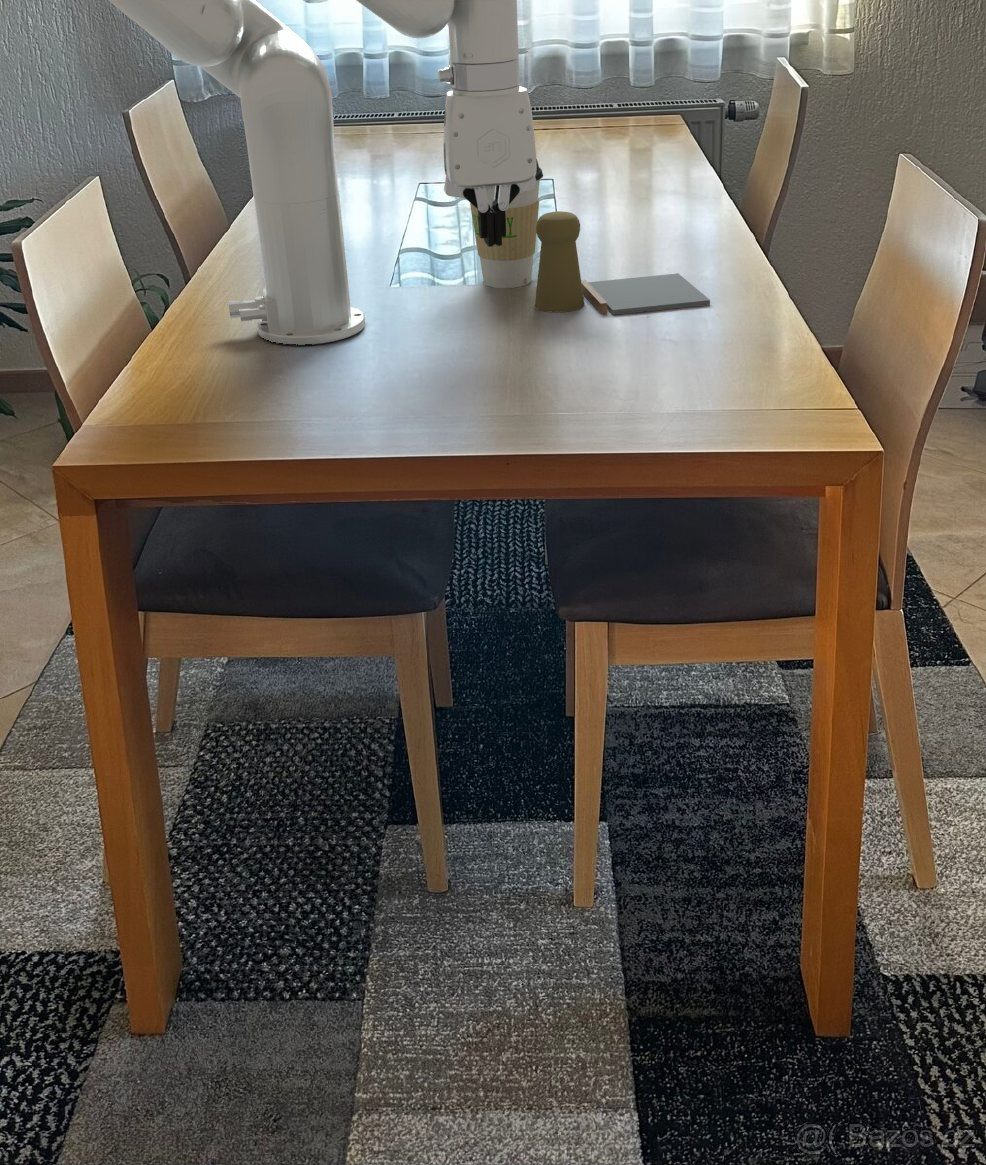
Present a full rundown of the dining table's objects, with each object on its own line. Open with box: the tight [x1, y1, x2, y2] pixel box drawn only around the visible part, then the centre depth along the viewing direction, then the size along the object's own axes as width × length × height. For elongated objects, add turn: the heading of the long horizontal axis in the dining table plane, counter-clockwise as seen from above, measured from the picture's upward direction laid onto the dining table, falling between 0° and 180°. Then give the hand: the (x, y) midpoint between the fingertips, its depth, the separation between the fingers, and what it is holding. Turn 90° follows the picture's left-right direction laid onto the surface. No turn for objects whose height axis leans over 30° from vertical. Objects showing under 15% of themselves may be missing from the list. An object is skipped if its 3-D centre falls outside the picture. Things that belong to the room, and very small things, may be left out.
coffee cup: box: [469, 158, 544, 289], centre depth 162 cm, size 10×10×15 cm
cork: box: [534, 210, 585, 313], centre depth 154 cm, size 6×6×11 cm
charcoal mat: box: [587, 272, 711, 316], centre depth 158 cm, size 12×12×1 cm
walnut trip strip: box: [581, 279, 608, 314], centre depth 157 cm, size 1×10×1 cm, turn 11°
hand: (493, 243), depth 151 cm, fingers closed
